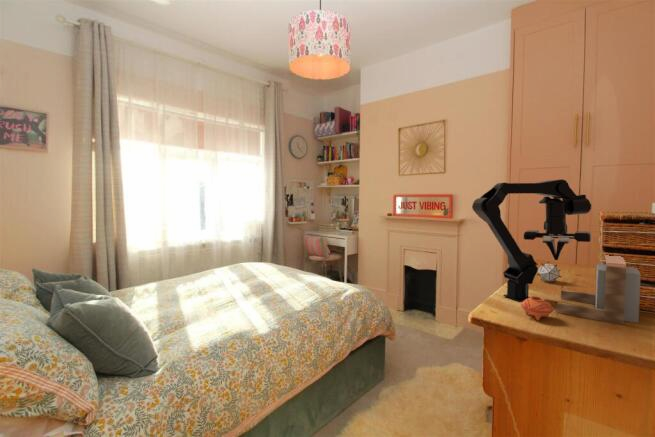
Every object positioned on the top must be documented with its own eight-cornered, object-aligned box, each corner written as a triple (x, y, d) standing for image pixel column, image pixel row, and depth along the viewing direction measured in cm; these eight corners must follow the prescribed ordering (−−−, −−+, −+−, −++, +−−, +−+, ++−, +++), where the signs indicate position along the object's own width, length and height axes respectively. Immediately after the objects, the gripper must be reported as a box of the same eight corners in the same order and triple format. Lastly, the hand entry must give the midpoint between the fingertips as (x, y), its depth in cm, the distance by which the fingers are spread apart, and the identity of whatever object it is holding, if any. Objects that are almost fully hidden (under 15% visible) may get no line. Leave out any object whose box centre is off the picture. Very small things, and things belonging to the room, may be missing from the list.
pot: (539, 310, 99) (543, 291, 97) (556, 326, 91) (561, 306, 89) (513, 310, 99) (517, 291, 97) (528, 326, 91) (533, 305, 89)
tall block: (596, 316, 94) (598, 269, 93) (595, 305, 103) (596, 263, 102) (638, 323, 89) (640, 274, 88) (633, 311, 97) (635, 266, 96)
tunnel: (557, 312, 97) (558, 258, 96) (561, 297, 111) (562, 250, 110) (623, 324, 88) (626, 264, 87) (619, 306, 102) (621, 254, 100)
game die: (554, 291, 131) (571, 275, 125) (534, 284, 131) (551, 268, 125) (546, 276, 138) (562, 260, 132) (527, 269, 138) (543, 253, 132)
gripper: (592, 213, 110) (592, 258, 111) (529, 214, 122) (530, 254, 123) (589, 216, 102) (590, 264, 103) (522, 216, 114) (523, 259, 115)
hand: (556, 260), depth 111 cm, fingers closed
